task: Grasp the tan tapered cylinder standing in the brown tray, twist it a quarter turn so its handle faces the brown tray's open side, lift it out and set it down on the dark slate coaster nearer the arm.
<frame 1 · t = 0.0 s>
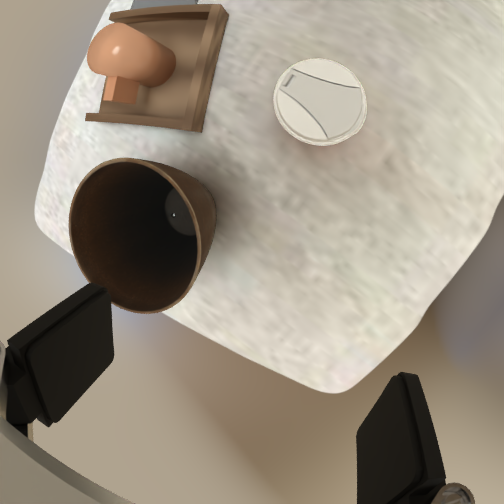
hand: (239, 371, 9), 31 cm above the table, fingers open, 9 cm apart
brown tray: (157, 67, 35), on the table
tan tapered cylinder: (155, 66, 35), point 1 cm above the table, touching brown tray
paper cup: (319, 118, 34), on the table
plant pot: (191, 207, 41), on the table
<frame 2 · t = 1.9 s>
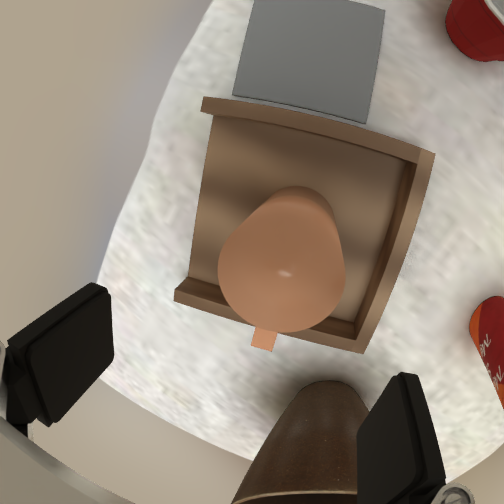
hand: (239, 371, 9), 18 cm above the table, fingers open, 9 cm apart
coaster: (311, 48, 21), on the table
plastic cup: (469, 36, 16), on the table
brown tray: (297, 222, 26), on the table
tan tapered cylinder: (296, 224, 25), point 1 cm above the table, touching brown tray
paper cup: (489, 318, 24), on the table
plant pot: (328, 400, 32), on the table
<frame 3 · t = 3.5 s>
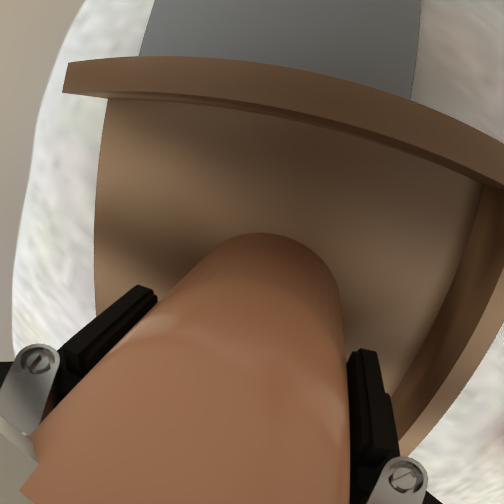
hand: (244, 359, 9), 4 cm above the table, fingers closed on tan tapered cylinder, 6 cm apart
brown tray: (265, 300, 13), on the table
tan tapered cylinder: (263, 307, 13), point 1 cm above the table, touching brown tray, gripper
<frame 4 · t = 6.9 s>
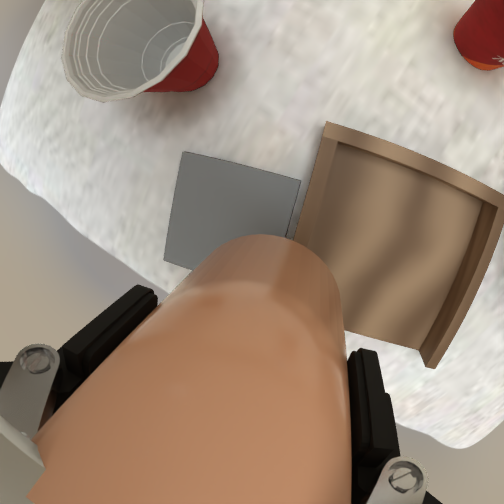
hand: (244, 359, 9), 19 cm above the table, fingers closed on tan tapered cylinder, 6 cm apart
coaster: (226, 222, 28), on the table
plastic cup: (193, 65, 25), on the table
brown tray: (389, 250, 26), on the table
tan tapered cylinder: (264, 308, 13), point 15 cm above the table, touching gripper
paper cup: (476, 45, 18), on the table
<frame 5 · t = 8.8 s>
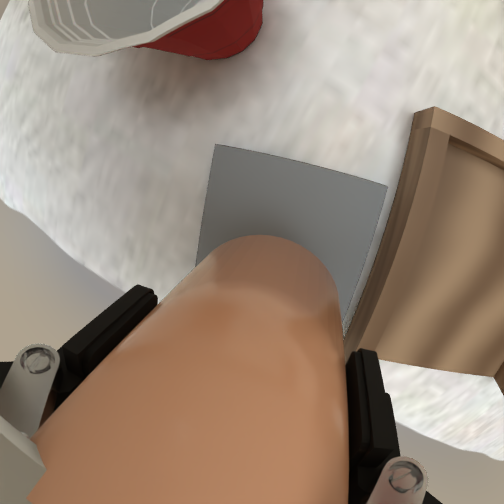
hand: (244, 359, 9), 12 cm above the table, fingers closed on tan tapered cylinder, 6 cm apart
coaster: (282, 243, 20), on the table
plastic cup: (223, 26, 16), on the table
brown tray: (480, 271, 18), on the table
tan tapered cylinder: (262, 309, 13), point 8 cm above the table, touching gripper
when the fingers open (6 cm above the table, at t = 10.4 s): tan tapered cylinder drops 1 cm, resting on coaster.
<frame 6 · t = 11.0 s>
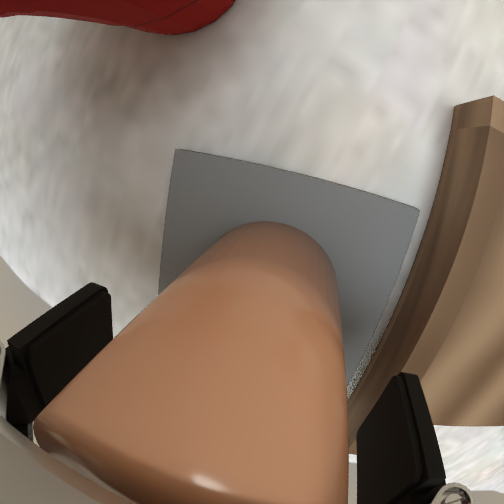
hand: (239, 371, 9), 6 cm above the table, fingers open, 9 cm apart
coaster: (270, 287, 15), on the table
tan tapered cylinder: (267, 289, 14), point 1 cm above the table, touching coaster
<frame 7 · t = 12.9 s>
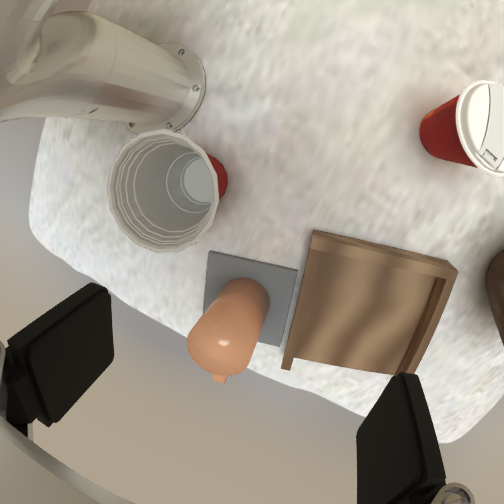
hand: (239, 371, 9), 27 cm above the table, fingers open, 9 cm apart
coaster: (246, 300, 39), on the table
plastic cup: (207, 180, 36), on the table
brown tray: (365, 311, 36), on the table
tan tapered cylinder: (245, 301, 39), point 1 cm above the table, touching coaster
paper cup: (440, 134, 28), on the table
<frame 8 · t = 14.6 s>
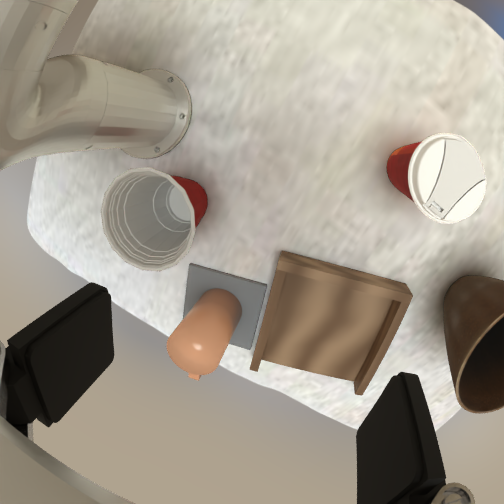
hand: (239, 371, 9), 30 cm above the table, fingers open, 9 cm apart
coaster: (221, 307, 44), on the table
plastic cup: (189, 201, 40), on the table
brown tray: (327, 323, 41), on the table
tan tapered cylinder: (220, 308, 43), point 1 cm above the table, touching coaster
paper cup: (407, 168, 33), on the table
plant pot: (463, 297, 36), on the table
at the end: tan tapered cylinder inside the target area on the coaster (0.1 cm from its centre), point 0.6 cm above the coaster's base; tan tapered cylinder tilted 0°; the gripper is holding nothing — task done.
